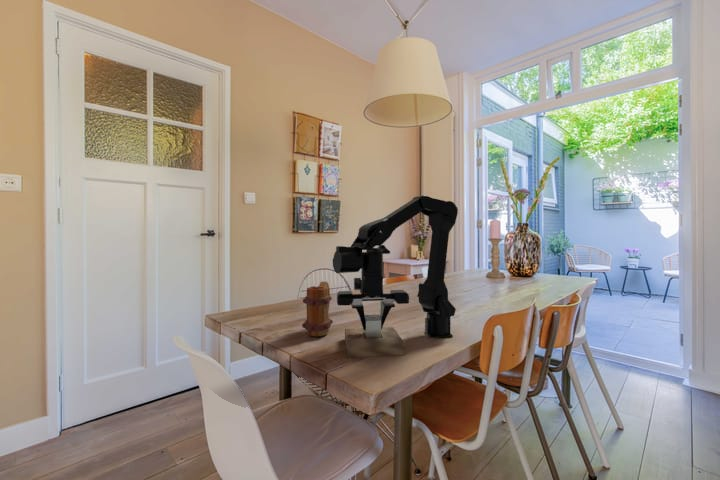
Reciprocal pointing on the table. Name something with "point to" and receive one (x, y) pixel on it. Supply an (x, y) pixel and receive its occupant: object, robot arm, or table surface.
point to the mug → (318, 310)
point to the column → (372, 326)
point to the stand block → (373, 343)
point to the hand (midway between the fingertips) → (372, 329)
